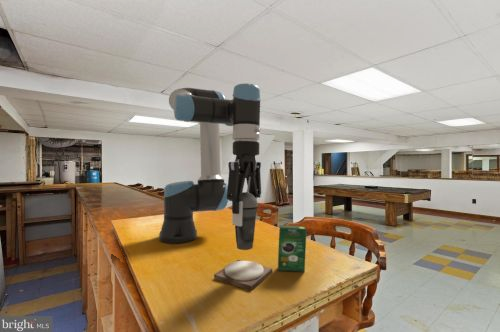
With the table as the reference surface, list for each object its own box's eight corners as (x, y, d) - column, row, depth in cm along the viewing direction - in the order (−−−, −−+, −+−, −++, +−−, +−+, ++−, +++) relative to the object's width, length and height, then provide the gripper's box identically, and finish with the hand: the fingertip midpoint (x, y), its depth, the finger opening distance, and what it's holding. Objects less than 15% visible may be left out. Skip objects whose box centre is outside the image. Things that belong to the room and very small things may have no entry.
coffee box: (304, 268, 76) (305, 225, 76) (305, 272, 74) (306, 228, 73) (277, 267, 77) (278, 224, 77) (278, 271, 74) (279, 227, 74)
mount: (214, 278, 69) (214, 271, 69) (238, 263, 79) (238, 257, 79) (251, 290, 63) (251, 283, 63) (272, 272, 73) (272, 265, 73)
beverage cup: (231, 243, 74) (232, 175, 73) (256, 242, 74) (257, 175, 74) (232, 252, 67) (232, 177, 66) (259, 251, 67) (260, 177, 67)
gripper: (237, 137, 59) (236, 233, 60) (273, 143, 77) (272, 217, 77) (212, 138, 63) (211, 228, 64) (252, 143, 80) (251, 214, 81)
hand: (245, 222), depth 70 cm, fingers closed on beverage cup, 7 cm apart
